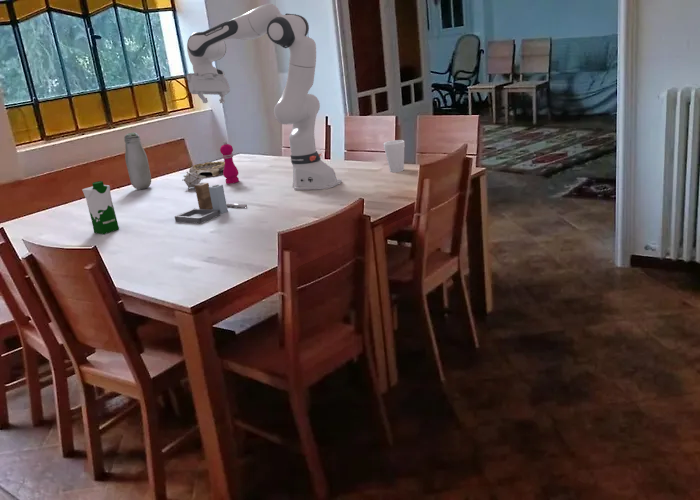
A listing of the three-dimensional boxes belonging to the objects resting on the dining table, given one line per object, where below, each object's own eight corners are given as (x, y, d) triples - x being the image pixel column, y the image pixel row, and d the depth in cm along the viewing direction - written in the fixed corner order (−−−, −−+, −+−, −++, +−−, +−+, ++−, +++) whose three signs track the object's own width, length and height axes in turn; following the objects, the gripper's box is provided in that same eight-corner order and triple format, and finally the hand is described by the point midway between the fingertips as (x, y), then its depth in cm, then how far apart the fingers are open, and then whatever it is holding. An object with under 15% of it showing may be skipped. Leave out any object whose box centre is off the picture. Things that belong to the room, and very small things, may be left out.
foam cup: (384, 173, 308) (381, 145, 304) (389, 168, 316) (386, 140, 312) (404, 172, 305) (402, 143, 301) (409, 167, 314) (406, 139, 309)
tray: (220, 215, 275) (219, 210, 274) (200, 223, 267) (199, 218, 266) (195, 213, 283) (194, 208, 282) (175, 221, 274) (174, 216, 274)
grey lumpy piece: (199, 194, 333) (208, 175, 333) (192, 192, 325) (202, 173, 324) (183, 186, 334) (192, 167, 334) (176, 184, 326) (185, 165, 326)
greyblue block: (227, 211, 280) (222, 184, 276) (220, 213, 277) (215, 187, 273) (220, 210, 282) (215, 184, 279) (213, 213, 279) (208, 186, 276)
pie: (180, 174, 370) (178, 165, 368) (229, 165, 380) (227, 156, 378) (191, 182, 345) (189, 173, 344) (243, 172, 355) (242, 162, 354)
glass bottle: (141, 191, 337) (128, 135, 328) (128, 190, 343) (115, 135, 334) (157, 186, 345) (145, 130, 336) (144, 185, 351) (132, 130, 342)
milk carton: (103, 235, 268) (90, 185, 262) (90, 233, 274) (78, 184, 267) (122, 228, 274) (110, 179, 268) (110, 226, 280) (98, 178, 274)
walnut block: (213, 208, 287) (208, 182, 283) (206, 211, 284) (201, 185, 280) (206, 208, 289) (201, 182, 286) (199, 210, 286) (194, 184, 283)
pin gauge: (247, 205, 282) (245, 203, 281) (246, 209, 282) (243, 207, 280) (229, 204, 288) (227, 202, 286) (228, 208, 287) (225, 206, 286)
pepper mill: (238, 182, 329) (231, 141, 322) (223, 184, 329) (215, 143, 323) (241, 179, 335) (233, 138, 329) (226, 181, 336) (218, 140, 329)
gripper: (189, 69, 296) (198, 99, 295) (226, 71, 312) (236, 99, 310) (181, 76, 301) (191, 105, 299) (219, 78, 316) (228, 105, 315)
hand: (214, 102), depth 305 cm, fingers open, 8 cm apart
